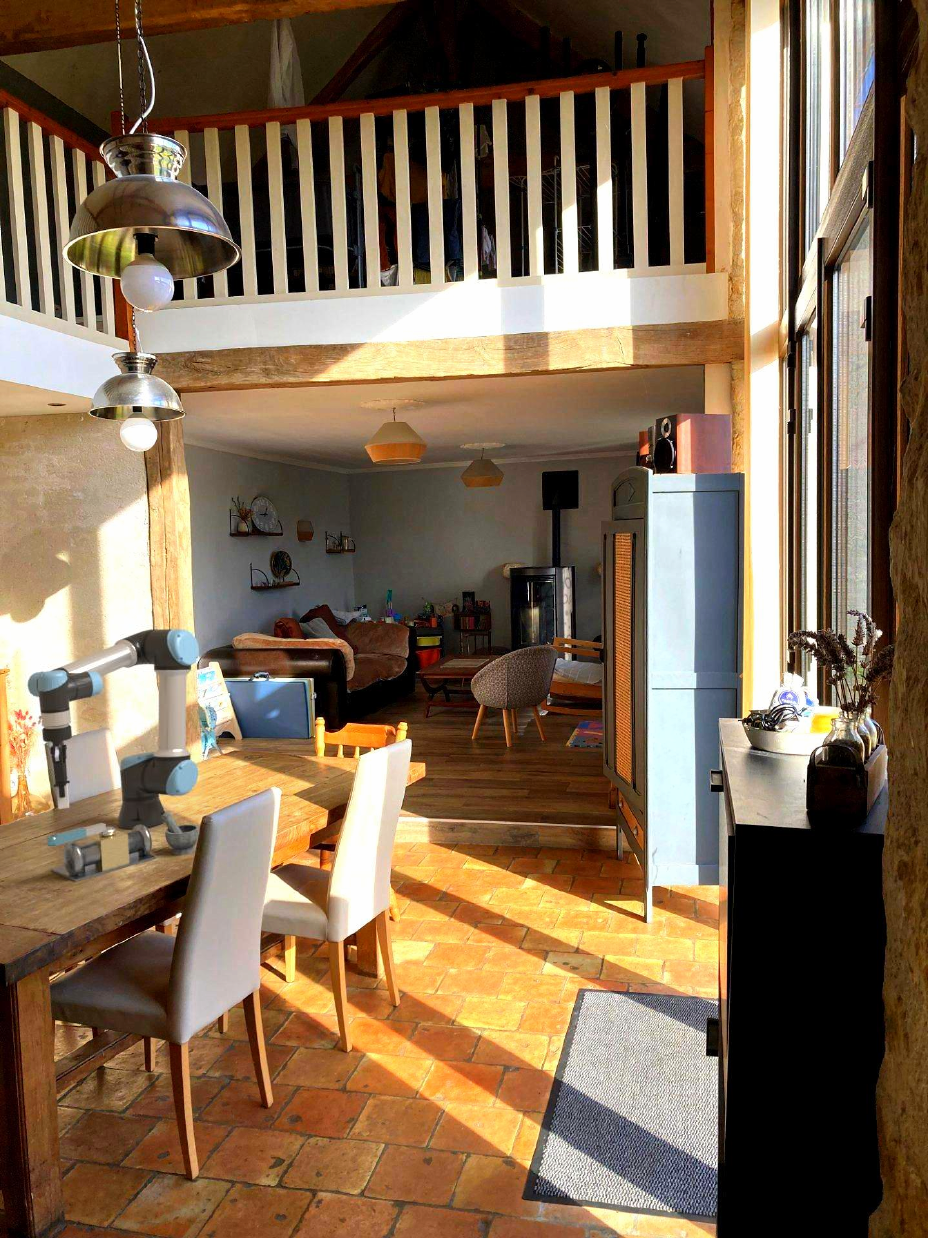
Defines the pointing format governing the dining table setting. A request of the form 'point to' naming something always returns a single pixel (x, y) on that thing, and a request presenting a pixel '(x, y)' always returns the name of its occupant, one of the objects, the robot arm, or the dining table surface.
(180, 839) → the mortar and pestle
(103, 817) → the dining table surface
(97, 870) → the valve body
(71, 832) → the lever
